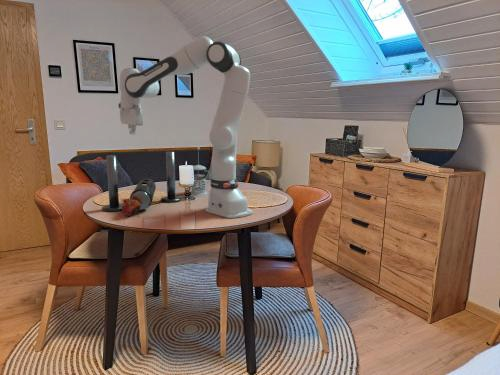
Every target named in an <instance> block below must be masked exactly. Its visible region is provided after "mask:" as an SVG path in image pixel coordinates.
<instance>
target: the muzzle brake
mask: <svg viewBox="0 0 500 375" xmlns="http://www.w3.org/2000/svg"><path fill="white" fill-rule="evenodd" d="M156 188H157V187H156V182H155V181H154V180H153V179H151V178H148V177H147V178H145V177H144V178H142V179H141V180H139V182H138V183H137V185H136V187H135V188H134V189H133V191H132V192H131V193H130V195H129V200H130V199H134V200H137V201H138V202H139V203H140V204H141V206H140V209H139V210H138V211H140V210H147V209H148V208H150V206H152V204H153V198H154V194H155V192H156V190H157V189H156Z"/></svg>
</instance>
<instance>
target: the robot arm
mask: <svg viewBox="0 0 500 375" xmlns="http://www.w3.org/2000/svg"><path fill="white" fill-rule="evenodd" d="M207 64H209V65H210V66H211V67H213V69H216V70H217V71H219V72H220V73H222V74H223V75H224V81H223V87H222V89H221V90H222V91H221V93H220V98H219V103H218V106H217V109H216V112H215V115H214V118H213V121H212V125H211V128H210V131H209V137H208V138H209V142H210V143H211V145H212V155H211V180H209V181H210V182H209V183H210V190H209V192H208V196H207V207H206V208H205V212H207V213H210V214H213V215H216V216H220V217H224V218H228V219H233V218H234V219H236V218H242V217H246V216H250V215H252V214H254V211H253V210H252V209H250V208H249V207H248V199H247V197H246V196H245V195H244V194H243V193H242V191H241V190H240V188H239V185H240V184H239V183H240V182H239V181H238V179H237V177H236V176H237V169H236V168H237V154H238V152H237V151H238V148H237V147H238V129H239V126H240V123H241V120H242V116H243V114H244V109H245V106H246V103H247V102H246V101H247V98H248V94H249V89H250V83H251V73H250V70H249V69H248V68H247V67H245V66H244V65H242V58H241V55H240V54H239V52H238V51H236V50H235V48H233V47H232V46H231V45H230V44H228V43H226V42H225V41H224V42H223V41H219V40H218V41H213V40H212V39H211V38H210V37H209V36H203V35H202V36H201V37H198V38H196V39H194V40H192V41H190V42H188V43H186V44H185V45H184V46H182V47H180V48H179V49H178V50H176V51H174V52H173V53H172V54H170V55H169V56H167V57H166V58H164V59H161V60H160V61H158V62H157V63H155V64H153V65H151V66H149V67H147V69H144V70H143V71H139V69H137V68H134V67H133V68H132V67H131V68H130V67H129V68H124V69H122V70H121V71H120V73H119V90H120V102H118V106H117V107H118V109H119V118H120V122H121V124H122V125H127V128H128V131H129V135H136V129H137V126H143V125H144V116H143V110H142V107H141V106H142V105H141V103H142V102H141V98H144V99H145V98H146V99H149V98H155V97H156V96H157V95H158V94H159V93H160V83H159V81H161V80H163V79H164V78H167V77H169V76H177V75H178V76H179V75H180V76H185V75H188V74H192V73H194V72H196V71H197V70H199V69H201V68H202V67H203V66H205V65H207Z"/></svg>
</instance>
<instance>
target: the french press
mask: <svg viewBox="0 0 500 375" xmlns="http://www.w3.org/2000/svg"><path fill="white" fill-rule="evenodd" d="M196 150H197V151H198V152H197V158H198V159H197V160H198V161H197V163H198V164H197V165H193V166H192V167H193V168H194V170H193V171H198V172H197V173H196V174H193V175H194V180H195V181H194V185H193V186H192V187H191V189H190V190H191V191H190V192H191V194H190V195H192V196H204V195H207V194H208V191H207V184H209V183H210V181H211V178H212V173H211V172H210V170H209V171H208V170H207V168H206V166H203V165H201V164H200V161H199V150H201V147H199V146H197V147H196ZM200 171H205V172H206V173H208V175H209V178H208V180H207V178H206V174H202V173H201V174H200V173H199V172H200Z"/></svg>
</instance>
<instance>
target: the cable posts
mask: <svg viewBox="0 0 500 375" xmlns="http://www.w3.org/2000/svg"><path fill="white" fill-rule="evenodd" d="M105 158H106V172H107V186H108V188H107V189H108V201H109V203H108V204H106V205H103V206H102V211H103V212H106V213H117V212H123V210H122V207H123V205H124V204H123V203H120V200H119V198H120V197H119V184H118V183H119V181H118V168H117V167H118V166H117V155H113V154H111V155H106V157H105ZM165 160H166V161H165V163H166V166H165V167H166V168H165V169H166V196H163V197H161V198H160V201H161V200H162V201H163V202H162V201H161V202H162V203H167V204H172V203H173V204H174V203H179V202H181V201H182V199H183V198H182V196H178V195H176V164H175V163H176V161H175V151H166V152H165Z"/></svg>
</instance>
